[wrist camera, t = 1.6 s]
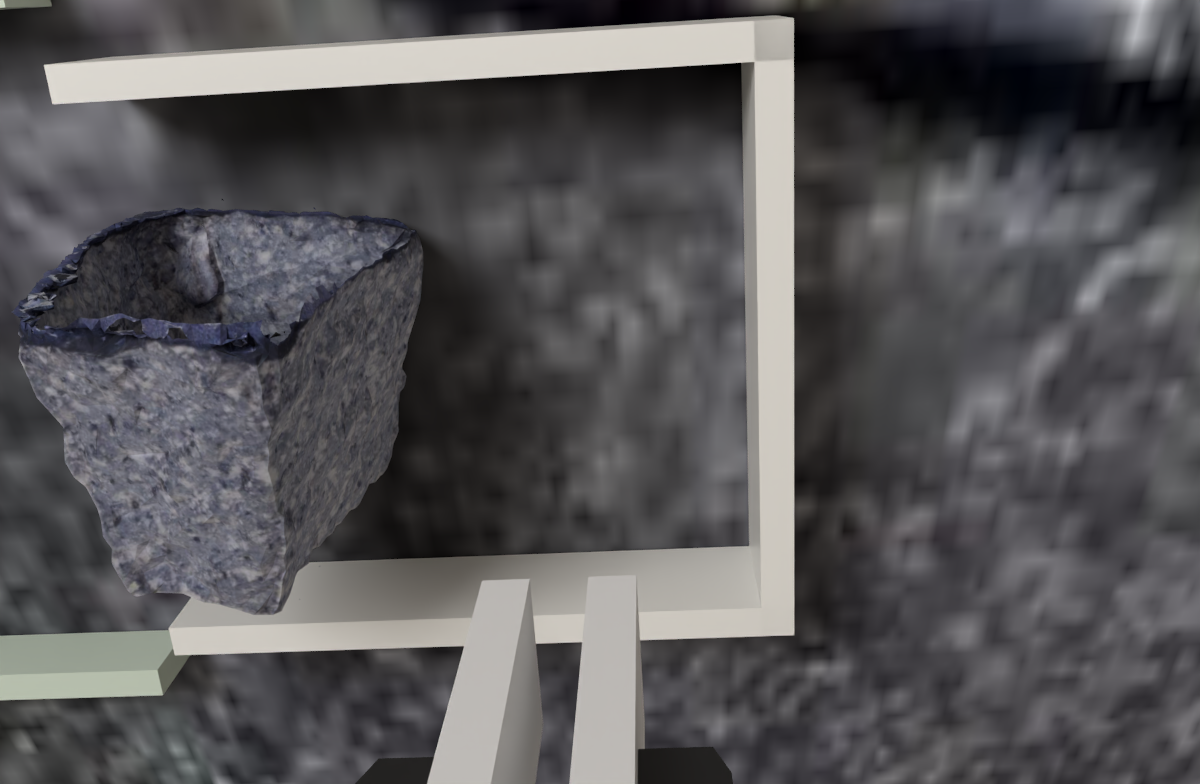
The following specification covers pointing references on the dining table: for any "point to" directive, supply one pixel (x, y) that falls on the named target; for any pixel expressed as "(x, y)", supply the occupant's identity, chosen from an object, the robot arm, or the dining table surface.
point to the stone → (225, 387)
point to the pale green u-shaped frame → (85, 641)
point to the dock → (558, 580)
